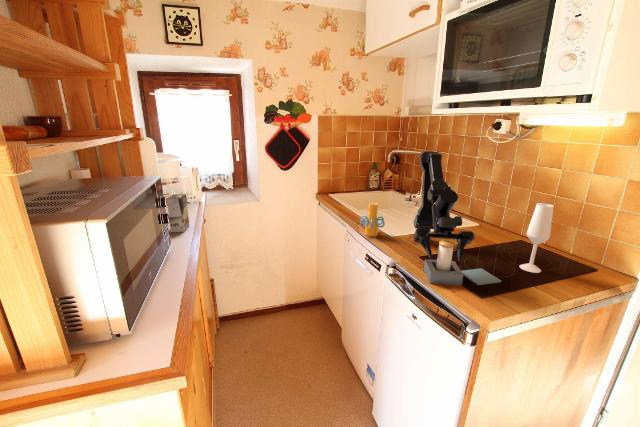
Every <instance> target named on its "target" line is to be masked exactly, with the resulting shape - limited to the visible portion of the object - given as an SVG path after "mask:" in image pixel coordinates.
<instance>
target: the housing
mask: <svg viewBox="0 0 640 427" xmlns="http://www.w3.org/2000/svg"><path fill="white" fill-rule="evenodd" d="M436 264H437V259H432V258H431V259H430V258H427V259H426V258H425V259H424V265H423V270H424V274H425V275H426V278H427V281H428V283H429V284H435V285H445V286H446V285H447V286H459V287H462V285H463V279H464V275H463V273H462V272H461V271H462V270H461V269H460V267H459V265H457V262H456V261H455V260H451V267H450V271H441V270H436Z"/></svg>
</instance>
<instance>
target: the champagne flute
mask: <svg viewBox="0 0 640 427" xmlns="http://www.w3.org/2000/svg"><path fill="white" fill-rule="evenodd" d="M554 207H555V206H554V205H553V204H550V203H544V202H542V203H541V202H537V203H536V205H535V208H534V211H533V214H532V217H531V219H530V222H529V225H528V228H527V231H526V236H527V238H528V239H529V240H530V242H532V244H533V245H532V251H531V254H530V259H529V263H523V264H520V265H518V266H519V268H520V269H521V270H523V271H526V272H530V273H535V274H538V273H541V272H542V270H541V269H540V268H539V267H538V266H537V265H536V264H534V263H535V258H536V254H537V250H538V245H541V244H543V243H545V242H547V241H548V240H549V239H550V238H551V231H552V230H551V229H552V222H553V216H554V215H553V214H554Z"/></svg>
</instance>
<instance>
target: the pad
mask: <svg viewBox="0 0 640 427" xmlns="http://www.w3.org/2000/svg"><path fill="white" fill-rule="evenodd" d="M461 272H462V273H463V277H465V278H467V279H468V280H469V281H471V282H473V283H474V284H476V285H477V286H482V285H483V286H484V285H491V284H498V283H502V280H501V279H499V278H498V277H496V276H495V275H493V274H491V273H489V272H488V271H486V270H485V269H483V268H473V269H465V270H464V269H463V270H461Z"/></svg>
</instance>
